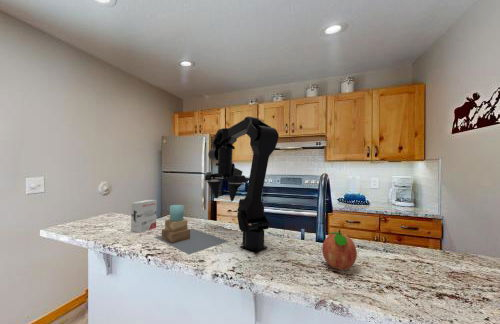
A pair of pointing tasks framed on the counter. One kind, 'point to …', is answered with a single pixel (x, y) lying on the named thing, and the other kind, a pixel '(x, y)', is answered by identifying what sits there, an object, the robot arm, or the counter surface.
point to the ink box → (143, 216)
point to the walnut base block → (175, 236)
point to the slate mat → (196, 242)
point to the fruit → (339, 251)
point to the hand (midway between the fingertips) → (224, 199)
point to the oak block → (175, 225)
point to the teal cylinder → (176, 213)
